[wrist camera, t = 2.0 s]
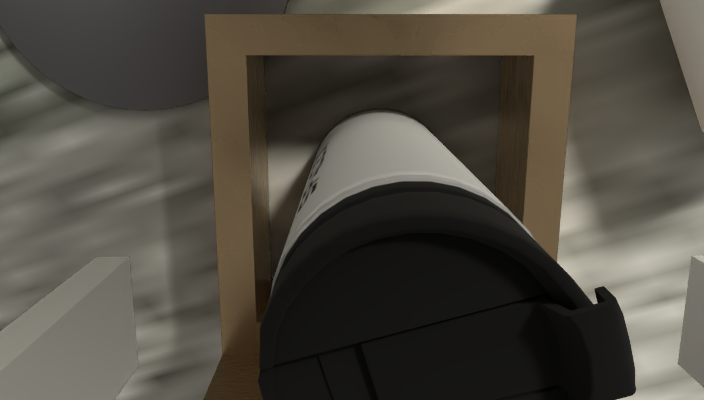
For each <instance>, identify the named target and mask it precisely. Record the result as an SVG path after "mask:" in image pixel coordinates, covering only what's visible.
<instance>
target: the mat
mask: <svg viewBox="0 0 704 400" xmlns="http://www.w3.org/2000/svg"><path fill="white" fill-rule="evenodd" d="M287 3H288V0H0V26H1V28H2V29H3V31H4V33H5V34H6V35H7V37H8V38H9V39H10V40H11V42H12V43H13V44H14V46H15V47H16V48H17V49H18V51H19V52H20V53H21V54H22V55H23V56H24V57H25V58H26V59H27V60H28V61H29V62H30V63H31V64H32V65H33V66H34V67H36V68H37V69H38V70H39V71H41V72H42V73H43V74H44V75H45V76H47V77H48V78H49V79H51V80H52V81H54V82H55V83H57V84H59V85H60V86H62V87H63V88H65V89H67V90H68V91H70V92H73V93H75V94H77V95H79V96H81V97H83V98H85V99H88V100H91V101H94V102H97V103H100V104H103V105H106V106H111V107H116V108H121V109H128V110H144V111H147V110H162V109H169V108H174V107H179V106H184V105H187V104H190V103H193V102H196V101H199V100H201V99H204V98H207V97H208V96H209V90H208V71H207V52H206V33H205V14H284V13H285V9H286V6H287Z"/></svg>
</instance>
